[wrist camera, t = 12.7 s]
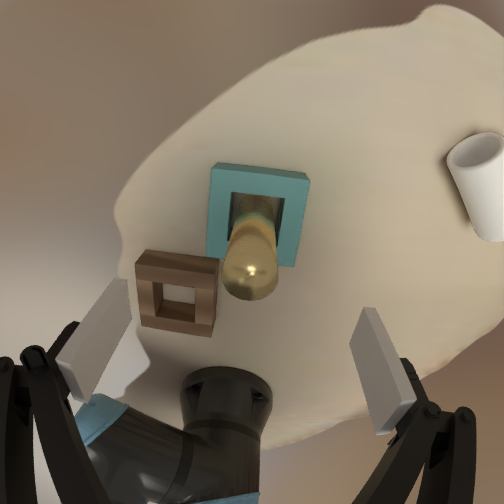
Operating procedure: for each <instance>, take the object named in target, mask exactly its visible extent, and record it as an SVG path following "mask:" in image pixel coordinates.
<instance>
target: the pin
mask: <svg viewBox="0 0 504 504" xmlns="http://www.w3.org/2000/svg"><path fill="white" fill-rule="evenodd" d="M221 279H222V283H223V285H224V287H225V288H226V290H227V291H228V292H229V293H230V294H232V295H233V296H235V297H237V298H239V299H242V300H249V301H252V300H259V299H262V298H264V297H266V296H268V295H269V294H270V293H271V292H272V291H273V290H274V289H275V287H276V285H277V282H278V266H277V252H276V238H275V225H274V213H273V204H272V202H271V200H270V199H269V198H268V197H267V196H263V195H255V194H247V195H246V196H245V197H244V198H243V199H242V200H241V202H240V205H239V208H238V212H237V215H236V219H235V223H234V226H233V230H232V234H231V238H230V241H229V245H228V249H227V252H226V256H225V260H224V264H223V268H222V272H221Z"/></svg>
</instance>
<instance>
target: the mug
mask: <svg viewBox="0 0 504 504" xmlns="http://www.w3.org/2000/svg"><path fill="white" fill-rule="evenodd" d="M447 165H448V168H449V170H450V172H451V174H452V176H453V178H454V181H455V183H456V185H457V187H458V190H459V192H460V195H461V197H462V199H463V202H464V204H465V207H466V209H467V212H468V215H469V217H470V220H471V223H472V226H473V228H474V231H475V233H476V234H477V236H478V237H480V238H481V239H483V240H485V241H488V242H502V241H504V136H503V137H502V136H501V135H499V134H496V133H491V132H486V133H479V134H475V135H473V136H470V137H468V138H466V139H464V140H462V141H461V142H459V143H458V144H457V145H455V146H454V147H453V148H452V150H451V151H450V152H449V154H448V156H447Z"/></svg>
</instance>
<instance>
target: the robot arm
mask: <svg viewBox="0 0 504 504" xmlns="http://www.w3.org/2000/svg"><path fill="white" fill-rule="evenodd" d="M131 319H132V316H131V309H130V301H129V293H128V285H127V280H126V279H120V278H114V279H113V281H112V282H111V283H110V285H109V286H108V287H107V288H106V290H105V291H104V292H103V293H102V295H101V296H100V297H99V299H98V300H97V301H96V303H95V304H94V305H93V307H92V308H91V309H90V311H89V312H88V314H87V315H86V316H85V317H84V319H83V320H82V321H81V323H80V322H76V321H73V322H72V323H70V324H69V325H67V326H66V327H65V328H64V330H63V331H62V332H61V334H60V335H59V336H58V338H57V340H56V341H55V342H54V343H53V345H52V346H51V348H50V349H49V350H48V352H47V353H46V352H45V350H44V349H43V348H42V347H41V346H38V345H33V346H29V347H26V348H25V349H24V350H23V351H22V353H21V354H20V360H21V362H22V364H23V366H22V365H15V364H14V362H13V360H12V359H11V358H9V357H6V356H5V357H0V504H38V502H37V495H36V486H35V475H34V457H33V414H34V418H35V422H36V426H37V431H38V435H39V439H40V442H41V446H42V449H43V453H44V456H45V459H46V462H47V466H48V468H49V472H50V474H51V477H52V480H53V483H54V485H55V488H56V490H57V493H58V496H59V498H60V501H61V504H147V503H148V502H149V501H150V502H154V503H157V504H258V500H259V496H260V492H259V473H260V438H261V434H262V432H263V429H264V427H265V425H266V422H267V420H268V418H269V415H270V413H271V410H272V392H271V389H270V387H269V386H268V385H267V384H266V383H265V382H264V381H263V380H262V379H260V378H259V377H257V376H255V375H253V374H251V373H249V372H246V371H243V370H239V369H234V368H227V367H211V368H205V369H201V370H198V371H195V372H193V373H192V374H190V375H189V376H188V377H187V378H186V379H185V380H184V382H183V385H182V389H181V393H180V403H181V410H182V416H183V423H184V428H183V431H182V430H180V429H178V428H175V427H173V426H170V425H168V424H166V423H163V422H161V421H159V420H157V419H154V418H152V417H150V416H148V415H146V414H144V413H142V412H140V411H137V410H135V409H133V408H131V407H129V405H127V404H123V403H121V402H119V401H116V400H114V399H112V398H110V397H108V396H106V395H104V394H94V395H92V394H93V392H94V389H95V388H96V386H97V384H98V381H99V379H100V378H101V375H102V373H103V371H104V370H105V368H106V366H107V364H108V362H109V360H110V358H111V356H112V354H113V352H114V351H115V349H116V347H117V345H118V343H119V341H120V339H121V338H122V336H123V334H124V332H125V330H126V329H127V327H128V325H129V323H130V321H131ZM349 345H350V348H351V351H352V354H353V357H354V361H355V364H356V367H357V371H358V374H359V377H360V381H361V384H362V387H363V391H364V394H365V398H366V401H367V405H368V409H369V412H370V416H371V419H372V423H373V427H374V431H375V435H381V434H389V433H390V432H391V431H392V430H393V429H394V428H395V427H396V431H397V434H396V435H395V436H394V437H393V438H392V439H391V440H390V442H389V443H388V445H389V447H388V449H387V450H386V452H385V454H384V455H383V457H382V459H381V461H380V462H379V464H378V465H377V467H376V468H375V470H374V472H373V473H372V475H371V476H370V478H369V480H368V481H367V483H366V484H365V485H364V487H363V488H362V490H361V491H360V493H359V494H358V495H357V497H356V498H355V500H354V501H353V502H352V504H404V503H405V501H406V499H407V498H408V496H409V494H410V492H411V490H412V488H413V486H414V484H415V482H416V480H417V478H418V476H419V474H420V471H421V469H422V467H423V465H424V463H425V465H424V470H423V476H422V481H421V486H420V490H419V495H418V499H417V503H416V504H473V495H474V486H475V472H476V417H475V414H474V413H473V411H472V410H471V409H470V408H467V407H459V408H458V409H457V410H456V411H455V412H454V413H452V412H445V411H441V409H440V407H439V406H438V405H437V404H436V403H434V402H431V401H429V400H428V397H427V395H426V393H425V391H424V388H423V386H422V384H421V382H420V380H419V377H418V375H417V374H416V371H415V369H414V367H413V365H412V364H411V363H410V362H409V360H408V359H407V358H399V356H398V354H397V352H396V350H395V347H394V345H393V343H392V341H391V339H390V337H389V335H388V333H387V331H386V329H385V327H384V324H383V322H382V320H381V318H380V316H379V314H378V312H377V310H376V308H369V307H363V309H362V312H361V315H360V317H359V320H358V323H357V325H356V328H355V330H354V333H353V335H352V338H351V340H350V343H349ZM70 392H71V394H72V396H73V398H74V399H75V400H78V401H81V402H84V404H83V405H82V406H81V408H80V409H79V411H78V412H77V414H76V415H75V417H74V416H73V413H72V409H71V406H70V404H69V400H68V399H67V397H68V395H69V393H70Z"/></svg>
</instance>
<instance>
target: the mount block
mask: <svg viewBox="0 0 504 504" xmlns="http://www.w3.org/2000/svg"><path fill="white" fill-rule="evenodd" d="M218 267H219V259H214V258H206V257H198V256H190V255H182V254H174V253H166V252H158V251H151V250H145V251H144V252H143V254H142V255H141V256H140V257H139V259H138V260H137V261H136V263H135V273H136V284H137V293H138V302H139V310H140V318H141V325H142V326H145V327H150V328H155V329H161V330H167V331H172V332H178V333H184V334H191V335H197V336H204V337H211V336H212V332H213V327H214V323H215V315H216V298H217V282H218ZM162 283H164V284H171V285H178V286H185V287H192V288H195V305H193V304H186V303H179V302H173V301H166V300H163V290H162Z"/></svg>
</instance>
